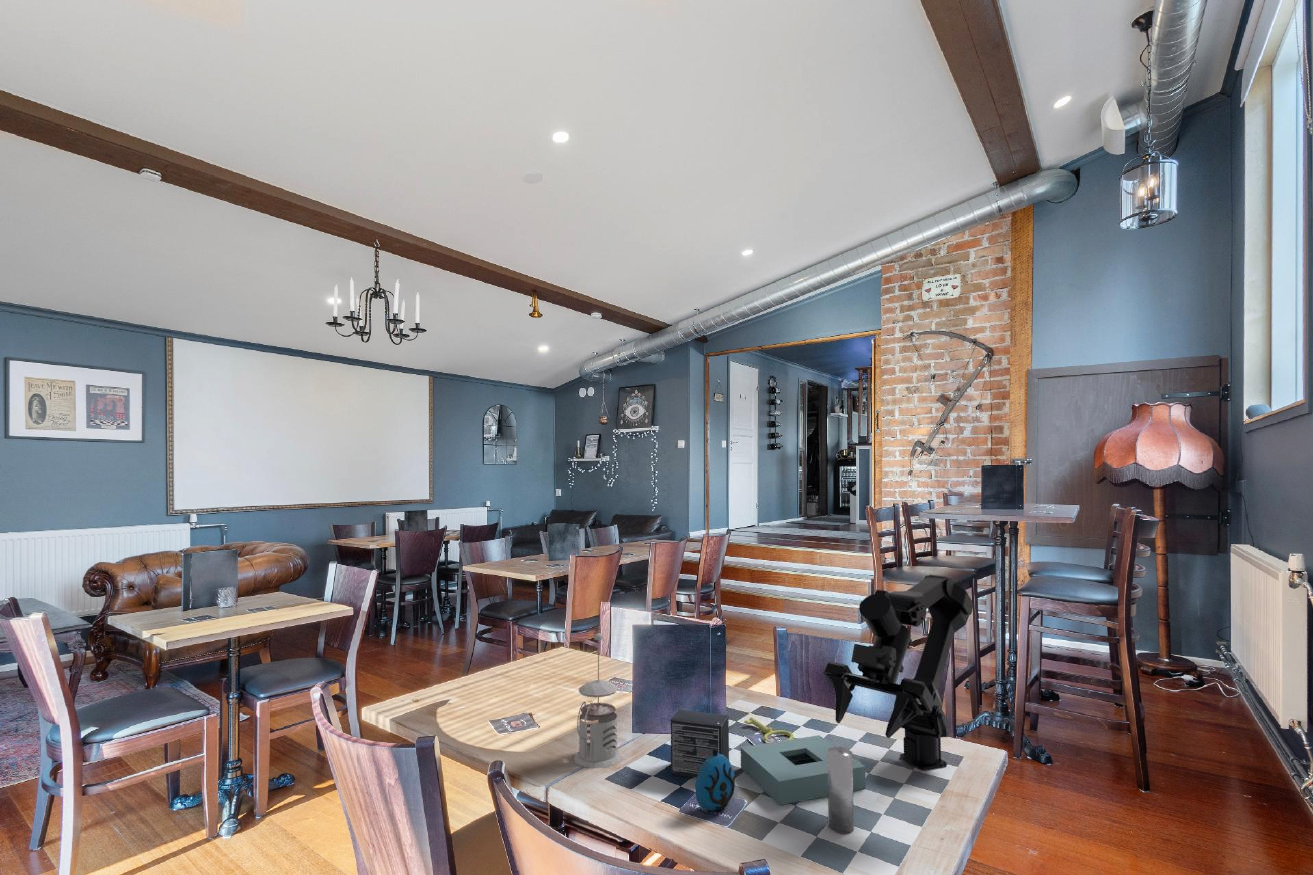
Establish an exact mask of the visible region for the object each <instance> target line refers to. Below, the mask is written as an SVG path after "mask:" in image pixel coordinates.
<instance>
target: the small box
mask: <svg viewBox="0 0 1313 875" xmlns="http://www.w3.org/2000/svg"><path fill="white" fill-rule="evenodd" d="M729 717H730V716H729V714H719V713H713V712H703V711H702V712H701V711H697V710H696V711H694V710H686V709H678V711H677V712H676V713H675V714H673V716H672V717H671V718H670V720H669V721H670V775H675V776H680V777H682V776H683V777H689V778H695V779H697V776H698V773H699V770H700V768H701V766H702V765H703V763H704V762H705V760H706V759H707V758H708V757H710V756H711V755H713V750H714V749H716V750H717V752H718V754H722V755H724V756H725V757H726V758H727V759H728V760H729V761H730V739H729V738H730V736H729V735H730V732H729V731H730V730H729V729H730V727H729V726H730V725H729V722H730V721H729V719H730V718H729Z"/></svg>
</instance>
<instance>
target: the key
mask: <svg viewBox="0 0 1313 875" xmlns="http://www.w3.org/2000/svg"><path fill="white" fill-rule="evenodd" d="M744 723H745V724H746V725H754V726H755V727H756V728H757V729H759V730H761V731H762V732H763V731H764V732H763V733H764V736H763V741H764V740H767V741H769V742H772V741H773V740H772V739H770V738H769V739H768V738H767V737H768V736H770V735H772V734H777V735H778V734H784V735H788V736H790V737H788V736H787V737H788V738H787V739H786V740H791V739H795V736H794V734H793V733H792V732H791V731H788V730H785V729H783V730H782V729H780V730H773V728H772V727H767V726H766V725H765V724H763V723H762V722H760V721H758V720H757V719H755V718H754V717H752V716H751V717H750V718H749V719H747V720H744ZM765 733H767V734H765Z"/></svg>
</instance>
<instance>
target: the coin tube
mask: <svg viewBox="0 0 1313 875" xmlns="http://www.w3.org/2000/svg"><path fill="white" fill-rule="evenodd" d="M853 758H854V757H853V752H852V750H850V749H848V748H847V747H842V746H836V747H831V748H829V749H828V750H827V762H828V796H827V805H828V806H827V807H828V808H827V811H828V812H827V813H828V814H827V816H828V828H829V829H830V830H831V831H832V832H834V833H837V834H840V835H848V834H852V833H853V832H854V830H855V820H854V819H855V817H854V816H855V815H854V814H855V813H854V791H853Z"/></svg>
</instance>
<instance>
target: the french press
mask: <svg viewBox="0 0 1313 875" xmlns="http://www.w3.org/2000/svg"><path fill="white" fill-rule="evenodd" d="M593 639H594V641H595V640H596V641H597V642H598V643H597V679H594V680H590V681H587V682H585V683H583V685H581V686H580V687H579V688H578V693H579V694H580V695H582V696H583V697H588V698H597V702H590V703H588V704H587V703H586V701H583V702H582V703H581V705H580V707H579V711H578V716H577V720H576V721H577V722H576V724H577V726H576V728H577V734H578V737H579V738H578V739H579V740H578V744H579V746H578V752H577V753H576V754H575V755H574V757H573V758H574V759H573V760H574V761H573V762H575V763H576V764H577V765H579V766H581V767H585V768H591V769H602V768H603V769H604V768H607V767H611V766H615V765H616V764H617V763H619V762H620V761H621V760H622V758H623V756H622V753H621V752H620V751H619V750H618V747H617V746H618V740H617V739H618V735H617V733H618V729H617V727H618V714H617V713H616V712H615V711H616V706H614V705H613V704H611V703H606V702H600V700H599V699H600V698H604V697H608V696H612V695H614V694H615V693H616V692H617V691H618V690H619V687H618V686H617V685H616V684H615V683H613V682H611V681H608V680H604V679H600V641H601V640H603V639H604V636H603V634H602V633H599V632H598V633H595V634H594V636H593ZM588 721H589V722H596V721H597V722H596V723H588ZM588 728H589V729H588ZM589 735H590V736H589ZM588 741H589V742H588Z"/></svg>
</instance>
